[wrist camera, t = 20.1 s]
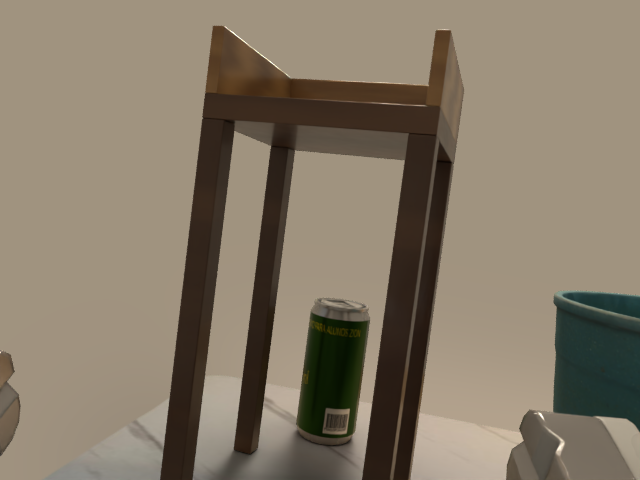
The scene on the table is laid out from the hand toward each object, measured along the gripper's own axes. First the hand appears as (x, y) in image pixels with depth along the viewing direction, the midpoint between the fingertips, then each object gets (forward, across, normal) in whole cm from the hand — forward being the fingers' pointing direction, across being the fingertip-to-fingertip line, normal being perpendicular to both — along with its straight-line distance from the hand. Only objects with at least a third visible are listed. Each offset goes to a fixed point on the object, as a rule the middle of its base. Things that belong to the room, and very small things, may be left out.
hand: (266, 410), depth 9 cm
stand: (+19, -1, +26) cm, 32 cm away
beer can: (+30, -3, +31) cm, 43 cm away
